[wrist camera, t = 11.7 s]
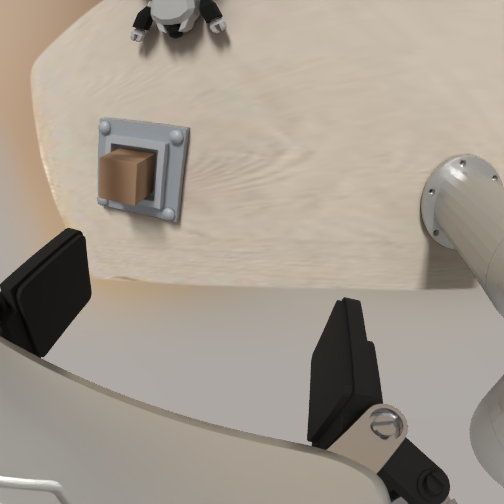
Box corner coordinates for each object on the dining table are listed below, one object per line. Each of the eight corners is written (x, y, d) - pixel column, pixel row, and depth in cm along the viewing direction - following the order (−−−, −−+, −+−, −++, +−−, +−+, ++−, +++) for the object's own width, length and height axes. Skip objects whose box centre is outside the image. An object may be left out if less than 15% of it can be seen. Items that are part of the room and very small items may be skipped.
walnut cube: (156, 153, 37) (137, 163, 32) (153, 191, 39) (134, 205, 35) (121, 147, 37) (99, 157, 32) (119, 184, 39) (99, 197, 35)
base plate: (189, 127, 36) (182, 130, 34) (179, 218, 42) (172, 225, 40) (104, 117, 36) (94, 120, 34) (102, 201, 42) (93, 207, 40)
